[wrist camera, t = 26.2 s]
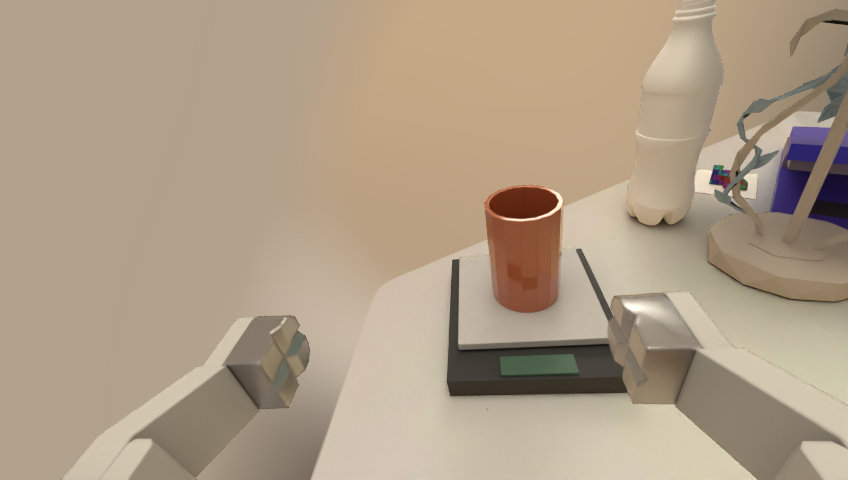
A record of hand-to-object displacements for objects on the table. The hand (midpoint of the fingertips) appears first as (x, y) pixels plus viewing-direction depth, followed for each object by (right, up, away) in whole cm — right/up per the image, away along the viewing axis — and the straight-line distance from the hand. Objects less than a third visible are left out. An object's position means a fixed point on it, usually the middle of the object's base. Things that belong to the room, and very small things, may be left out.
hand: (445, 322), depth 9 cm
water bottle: (+30, +5, +38) cm, 49 cm away
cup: (+10, -3, +26) cm, 28 cm away
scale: (+10, -6, +27) cm, 29 cm away
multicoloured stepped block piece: (+43, +10, +42) cm, 60 cm away
